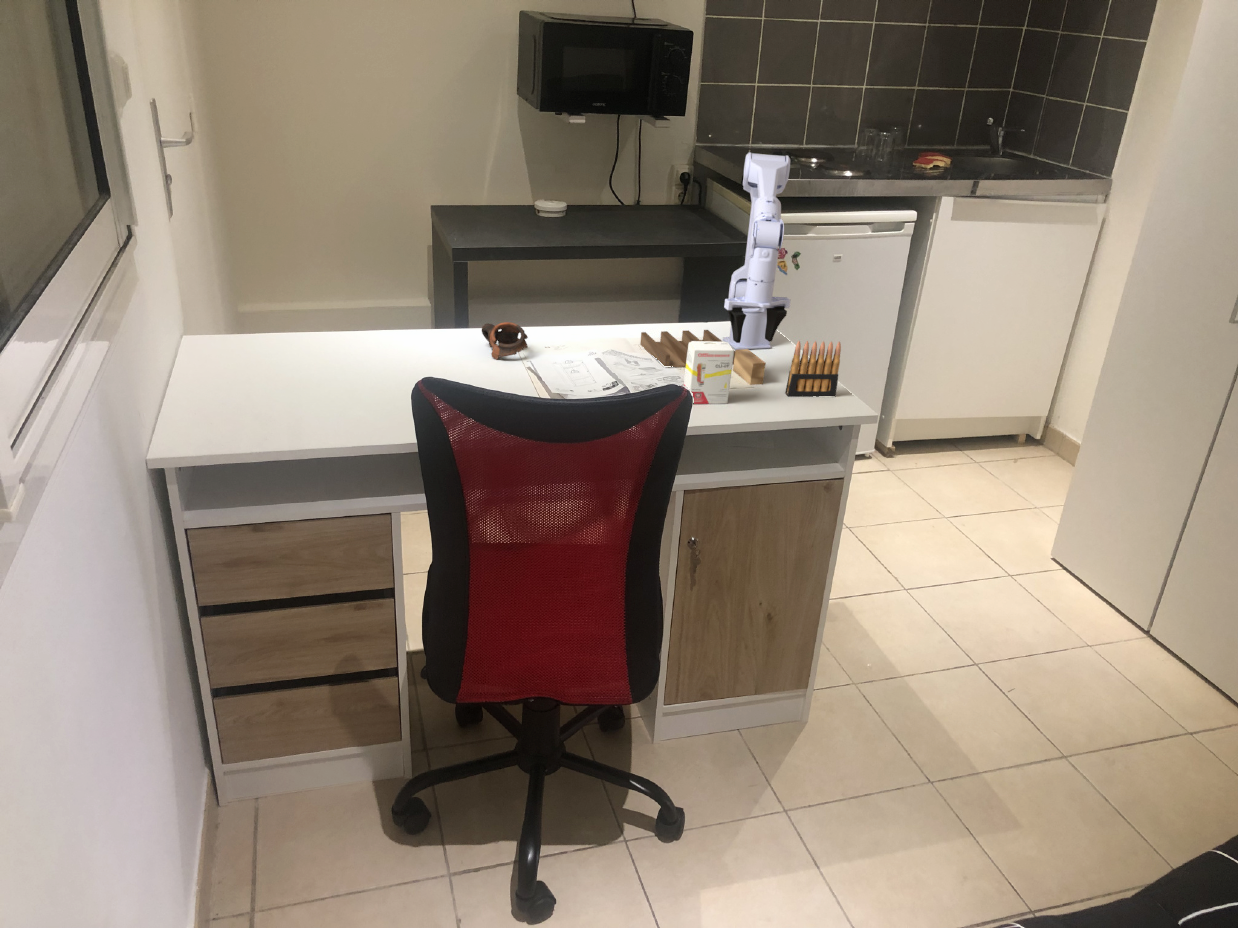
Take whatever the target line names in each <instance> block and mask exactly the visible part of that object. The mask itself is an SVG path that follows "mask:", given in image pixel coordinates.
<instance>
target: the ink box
mask: <svg viewBox="0 0 1238 928" xmlns="http://www.w3.org/2000/svg"><path fill="white" fill-rule="evenodd" d="M734 351H735V349H734V348H733V347H732V346H730V344H729V343H728V342H725V341H723V342H717V341H716V342H714V341H691V342H689V344H688V352H687V360H686V367H684V369H685V370H684V377H683V385H684V386H686V387H688V389H690V390H691V392H692V393H693V397H694V404H693V405H721V404H723V405H726V404H728V401H729V393H730V385H731V379H732V372H733V365H734V364H733V356H734ZM732 364H733V365H732Z"/></svg>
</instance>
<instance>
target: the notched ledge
mask: <svg viewBox="0 0 1238 928" xmlns="http://www.w3.org/2000/svg"><path fill="white" fill-rule="evenodd" d="M681 333H682V335H681V340H678V339H676V338H675V337H674V336H673V335H672V334H671V333H670V332H669V331H665V330H664V331H661V332H660V338H659V339H660V340H659V341H656V340H655V339H653V338H652V337H651V336H650V335H649V334H648V333H647V332H646V331H642V332H641V333H640V346H641V348H643V347H644V348H643V349H644V350H645V351H647V352H648V353H649V354H650V355H651V356H652V355H653V356H654V357H655V358H657V360H659V361H660V362H661V363H662V364H663V365H664V366H671V367H672V366H673V367H675V368H686V360H687V352H688V344H689V342H691V341H714V342H716V341H717V342H724V340H722V339H720V338H719V337H718V336H716V335H715V334H713V332H711V331H710V330H709V329H703V336H702V339H699V338H698V337H697V336H696V335H695V334H693V333H692V332H691V331H690V330H682V332H681ZM653 356H652V357H653ZM654 357H653V358H654ZM655 358H654V359H655ZM734 358H735V350H734V356H733V364H732V366H734ZM657 360H656V361H657Z"/></svg>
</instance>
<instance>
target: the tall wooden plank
mask: <svg viewBox="0 0 1238 928" xmlns="http://www.w3.org/2000/svg"><path fill="white" fill-rule="evenodd" d="M734 351H735V358H734V364H733V365H732V372H734V373H735V374H736V375H738V376H739V377H740V378H741V379H742V380H744V381H745V382H746V383H747V384H748V385H750V386H755V385H756V386H758V385H763V384H764V378H765V371H766V365H767V364H766V362H765V361H764V360H762V359H761V358H760V357H759V356H757V355H756V354H755V353H754V352H752V351H751V349H738V350H737V349H734Z"/></svg>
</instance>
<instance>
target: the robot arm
mask: <svg viewBox="0 0 1238 928" xmlns="http://www.w3.org/2000/svg"><path fill="white" fill-rule="evenodd" d="M790 170H791V158H790V157H789V155H777V154H764V153H763V154H762V153H753V152H750V151H749V152H747V154H745V159H744V165H743V180H742V186H743V187H742V188H743V190H744V191H746V192H747V193H749V194H750V200H751V201H750V202H751V205H750V212H749V213H750V215H749V223H748V224H749V225H748V230H747V231H748V232H747V240H746V249H745V257H744V259H745V260H744V264H743V266H740V267H739V268H738V269H736V270H735V271H733V273H732V274H731V279H730V283H729V289H728V290H729V291H728V298H725V299H724V306H723V308H724V309H725V310H726V313H727V315H728V318H729V321H730V327H729V329H730V330H729V336H724V337H722V339H721V340H722V341H723V342H728V343H729V344H730V346H731V347H732V348H733V349H734V350H739V349H748V350H753V349H757V350H759V349H771V348H772V346H771V342H772V341H773V339H774V336H775V333H776V331H777V329H778V328H779V327H780V325H781V323H782V322H783V320H784V319H785V318H786V316H787V314H788V313H787V312H788V311H787V310H786V309H790V307H791V305H790V304H791V299H790V298H788V297H787V296H786V297H784V296H773V293H774V287H775V280H776V274H777V273H776V272H777V266H778V265H777V264H778V258H779V253H780V252H779V251H781V249H782V247H783V244H784V238H785V223H784V220H783V219H782V204H781V201H780V200H779V199H778V197H777V195H779V194H781V193H783V192H784V190H785V189H786V185H787V183H788V181H789V176H790ZM745 279H746V280H745Z"/></svg>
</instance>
